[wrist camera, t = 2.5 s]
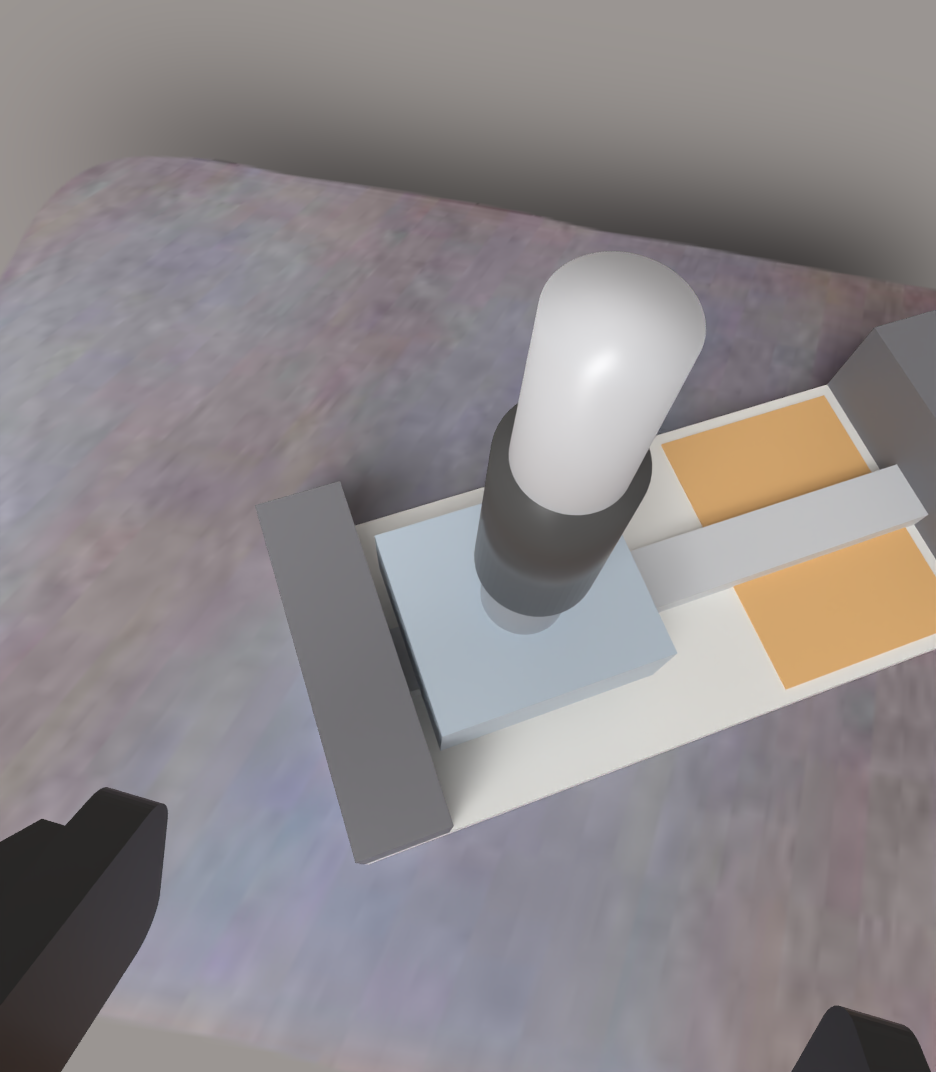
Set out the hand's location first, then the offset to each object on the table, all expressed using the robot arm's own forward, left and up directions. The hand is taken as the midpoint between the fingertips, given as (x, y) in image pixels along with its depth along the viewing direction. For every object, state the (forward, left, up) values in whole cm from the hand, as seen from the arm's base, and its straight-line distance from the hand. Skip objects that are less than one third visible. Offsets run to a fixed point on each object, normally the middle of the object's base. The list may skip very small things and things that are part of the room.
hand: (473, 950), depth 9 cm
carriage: (-5, -8, -17) cm, 19 cm away
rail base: (-12, -8, -20) cm, 24 cm away
